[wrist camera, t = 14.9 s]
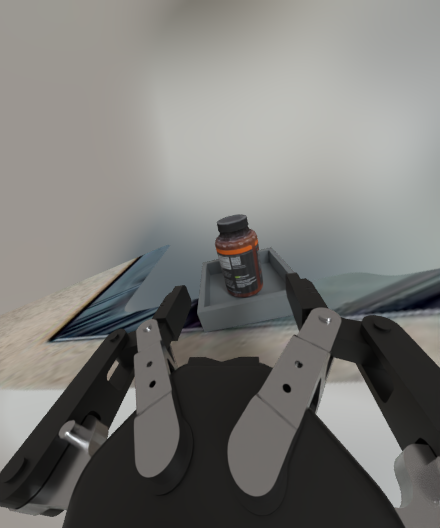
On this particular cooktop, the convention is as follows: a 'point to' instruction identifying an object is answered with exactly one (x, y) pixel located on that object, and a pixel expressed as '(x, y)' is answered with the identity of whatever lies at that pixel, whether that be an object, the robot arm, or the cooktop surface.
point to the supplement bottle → (239, 256)
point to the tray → (247, 308)
